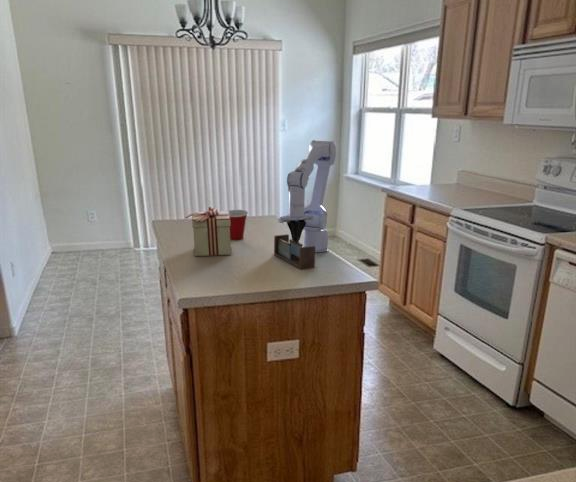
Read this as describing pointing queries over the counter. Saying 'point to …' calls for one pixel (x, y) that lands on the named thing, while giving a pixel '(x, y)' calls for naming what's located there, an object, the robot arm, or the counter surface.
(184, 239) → the counter surface
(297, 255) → the sliding pane
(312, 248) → the window frame
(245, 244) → the counter surface
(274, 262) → the counter surface
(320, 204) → the robot arm
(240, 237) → the plastic cup
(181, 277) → the counter surface
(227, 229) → the gift box
